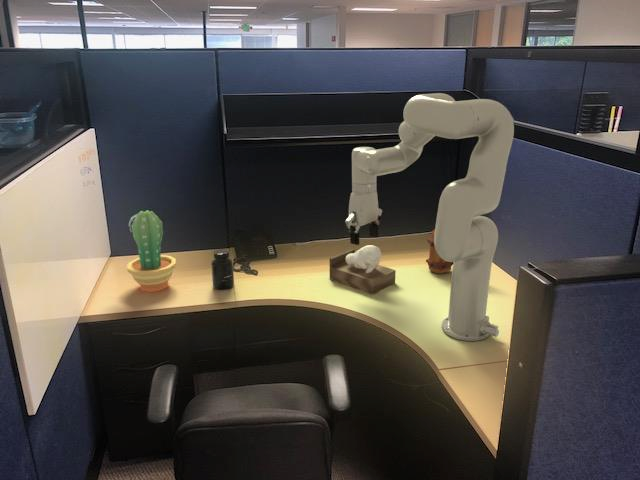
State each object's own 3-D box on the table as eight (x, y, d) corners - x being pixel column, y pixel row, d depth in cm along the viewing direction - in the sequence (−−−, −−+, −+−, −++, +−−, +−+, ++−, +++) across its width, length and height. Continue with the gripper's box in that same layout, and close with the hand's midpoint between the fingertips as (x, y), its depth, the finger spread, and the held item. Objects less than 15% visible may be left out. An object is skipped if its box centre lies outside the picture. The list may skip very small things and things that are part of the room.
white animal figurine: (374, 249, 160) (340, 246, 166) (376, 275, 162) (342, 271, 168) (382, 243, 165) (349, 241, 171) (384, 268, 168) (351, 265, 174)
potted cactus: (172, 273, 178) (164, 203, 169) (184, 289, 165) (176, 214, 157) (125, 282, 171) (115, 209, 162) (134, 300, 158) (123, 222, 150)
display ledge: (395, 282, 168) (396, 261, 166) (372, 294, 160) (373, 272, 158) (352, 268, 180) (352, 248, 178) (329, 279, 172) (329, 258, 169)
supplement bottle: (229, 291, 163) (226, 256, 159) (209, 289, 165) (206, 254, 161) (237, 282, 170) (235, 248, 166) (218, 281, 171) (215, 247, 167)
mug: (422, 272, 176) (424, 231, 171) (428, 264, 183) (431, 224, 178) (465, 280, 170) (469, 237, 165) (470, 271, 177) (474, 230, 172)
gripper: (371, 181, 168) (371, 231, 173) (336, 191, 156) (337, 244, 161) (390, 184, 163) (389, 236, 168) (356, 194, 151) (356, 249, 156)
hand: (364, 240), depth 165 cm, fingers open, 9 cm apart
